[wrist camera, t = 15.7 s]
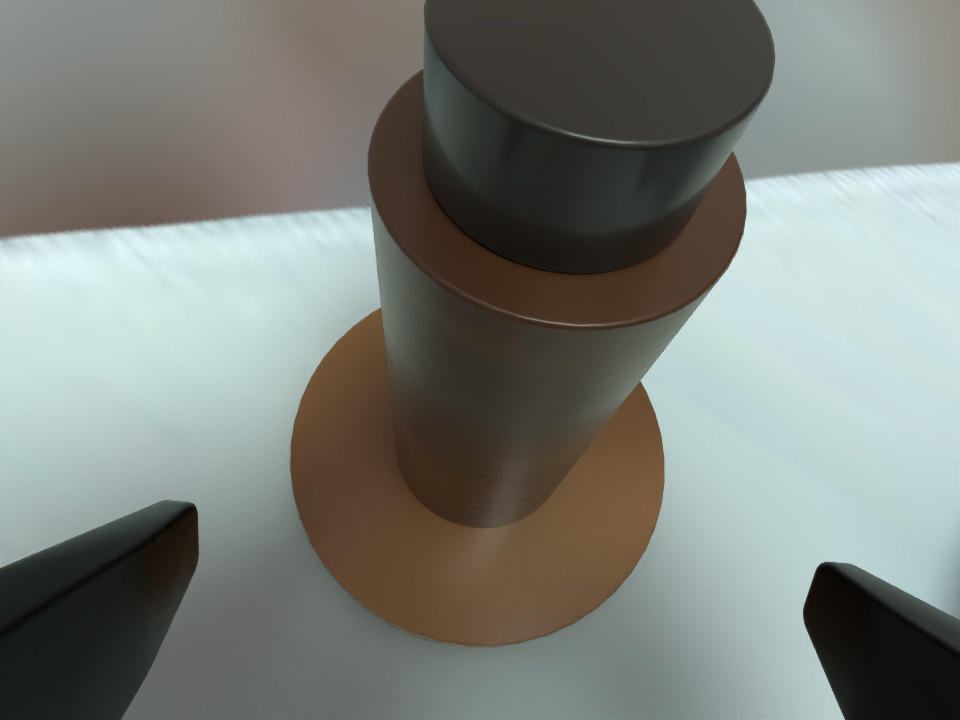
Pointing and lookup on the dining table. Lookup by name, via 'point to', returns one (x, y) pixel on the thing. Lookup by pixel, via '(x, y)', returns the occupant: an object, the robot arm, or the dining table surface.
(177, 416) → the dining table surface
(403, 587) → the disc
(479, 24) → the pepper mill
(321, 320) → the dining table surface
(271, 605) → the dining table surface
